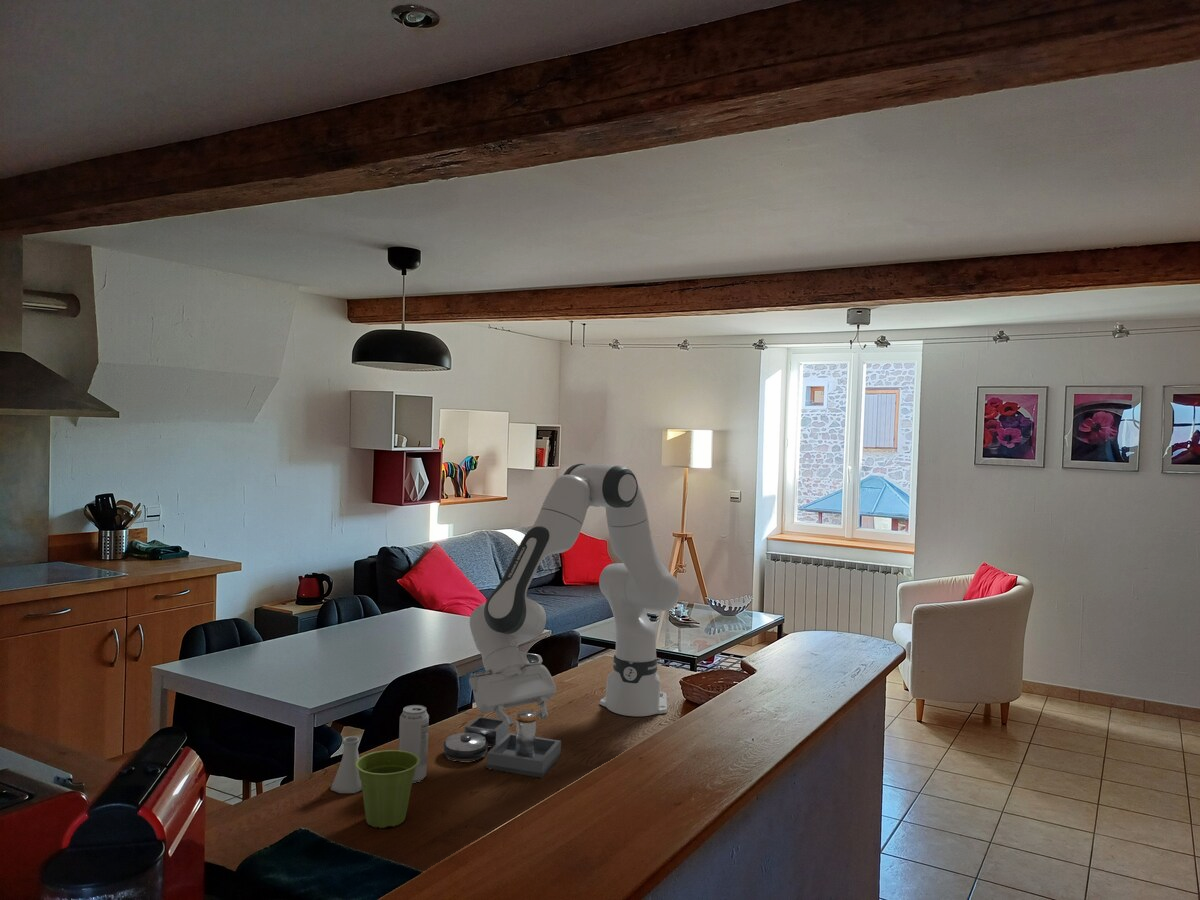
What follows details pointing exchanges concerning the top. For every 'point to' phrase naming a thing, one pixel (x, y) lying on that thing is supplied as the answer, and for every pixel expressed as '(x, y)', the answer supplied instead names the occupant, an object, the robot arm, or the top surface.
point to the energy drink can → (415, 736)
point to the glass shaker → (525, 734)
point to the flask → (348, 769)
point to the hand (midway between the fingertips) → (527, 721)
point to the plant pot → (386, 785)
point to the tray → (507, 761)
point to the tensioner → (475, 739)
